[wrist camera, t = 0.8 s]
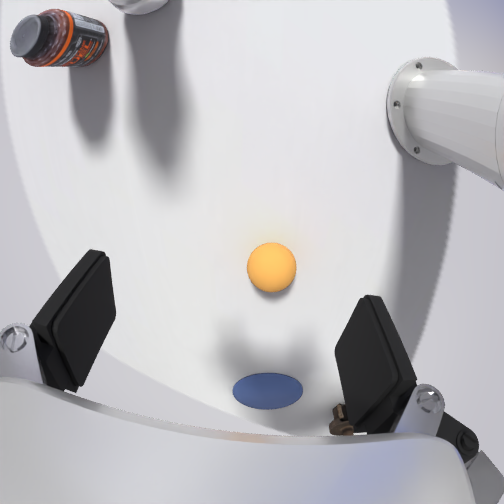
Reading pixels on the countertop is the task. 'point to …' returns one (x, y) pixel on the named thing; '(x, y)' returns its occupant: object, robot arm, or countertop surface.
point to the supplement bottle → (59, 39)
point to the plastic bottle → (138, 5)
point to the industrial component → (340, 422)
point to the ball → (271, 267)
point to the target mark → (267, 391)
